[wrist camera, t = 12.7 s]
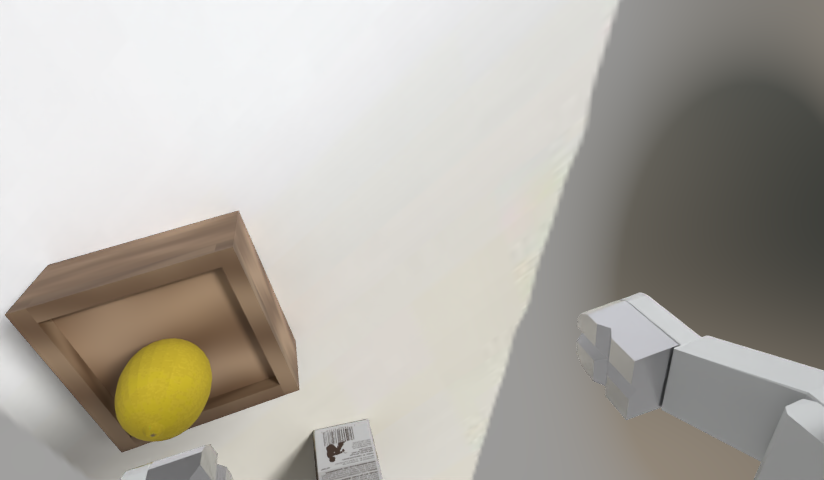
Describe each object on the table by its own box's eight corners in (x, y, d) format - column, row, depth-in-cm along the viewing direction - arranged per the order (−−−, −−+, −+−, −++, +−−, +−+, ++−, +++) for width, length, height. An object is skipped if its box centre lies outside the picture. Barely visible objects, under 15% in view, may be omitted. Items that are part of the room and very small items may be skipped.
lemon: (151, 383, 34) (120, 479, 27) (121, 327, 31) (79, 416, 24) (226, 364, 35) (215, 451, 28) (204, 308, 32) (186, 388, 25)
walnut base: (47, 265, 33) (4, 314, 27) (238, 210, 35) (232, 246, 29) (141, 393, 40) (121, 452, 34) (295, 341, 42) (299, 389, 36)
